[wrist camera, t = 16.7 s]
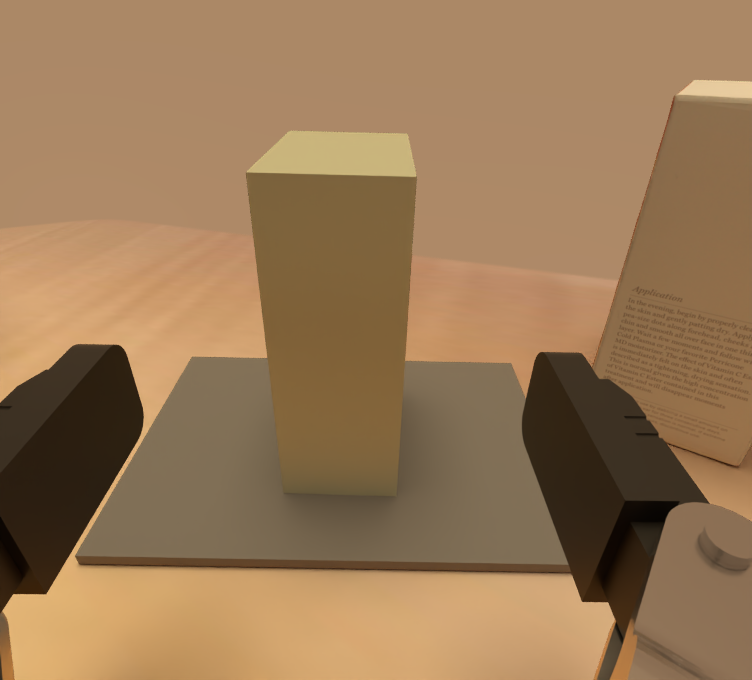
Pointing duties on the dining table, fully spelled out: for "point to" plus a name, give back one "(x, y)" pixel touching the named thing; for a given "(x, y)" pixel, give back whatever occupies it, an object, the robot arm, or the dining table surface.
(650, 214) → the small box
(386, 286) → the tall tan pillar block
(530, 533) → the rubber mat
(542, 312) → the dining table surface
